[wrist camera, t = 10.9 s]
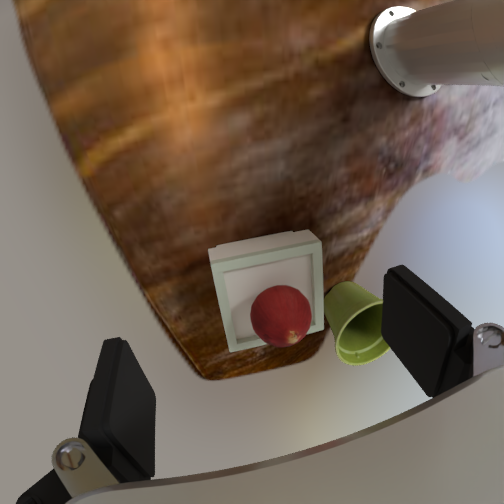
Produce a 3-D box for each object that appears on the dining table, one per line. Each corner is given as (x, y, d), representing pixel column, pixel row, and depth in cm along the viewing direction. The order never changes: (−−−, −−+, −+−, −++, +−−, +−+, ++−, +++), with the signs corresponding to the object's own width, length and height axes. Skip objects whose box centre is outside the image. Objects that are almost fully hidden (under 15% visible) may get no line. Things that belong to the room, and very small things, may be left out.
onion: (292, 318, 36) (317, 365, 28) (241, 319, 34) (257, 370, 27) (301, 271, 33) (332, 313, 26) (247, 271, 32) (265, 315, 25)
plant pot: (307, 279, 41) (335, 316, 33) (371, 261, 42) (407, 292, 34) (312, 335, 45) (336, 375, 37) (370, 316, 46) (399, 350, 38)
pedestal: (299, 221, 38) (321, 241, 32) (304, 300, 42) (323, 329, 36) (205, 239, 36) (210, 264, 30) (222, 318, 41) (229, 352, 35)
